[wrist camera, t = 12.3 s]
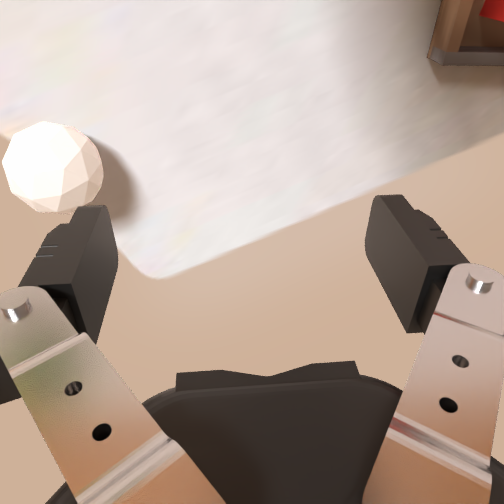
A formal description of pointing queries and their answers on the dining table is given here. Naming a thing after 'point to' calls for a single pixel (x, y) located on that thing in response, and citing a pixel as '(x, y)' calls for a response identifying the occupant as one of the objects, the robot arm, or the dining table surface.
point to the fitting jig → (466, 36)
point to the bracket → (493, 9)
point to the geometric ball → (53, 168)
